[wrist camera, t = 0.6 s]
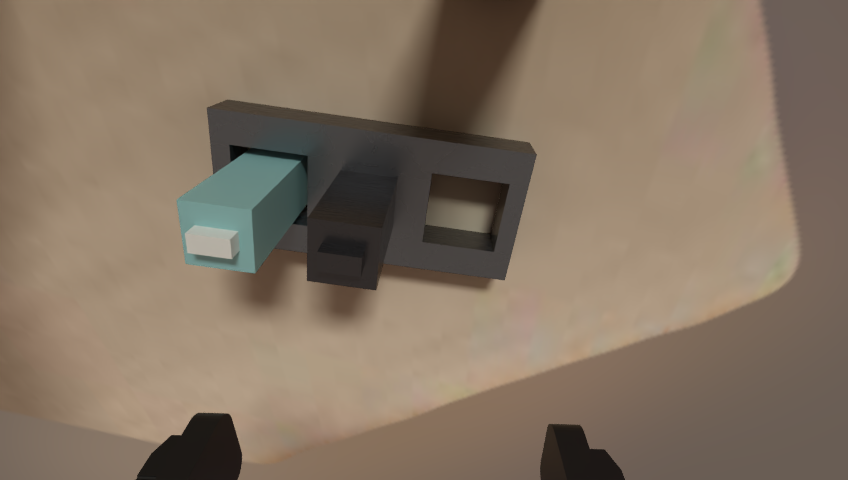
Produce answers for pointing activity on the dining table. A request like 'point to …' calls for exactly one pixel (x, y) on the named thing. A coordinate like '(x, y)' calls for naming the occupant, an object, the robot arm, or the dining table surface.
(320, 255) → the gray slotted rack
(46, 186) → the dining table surface
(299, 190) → the plug
